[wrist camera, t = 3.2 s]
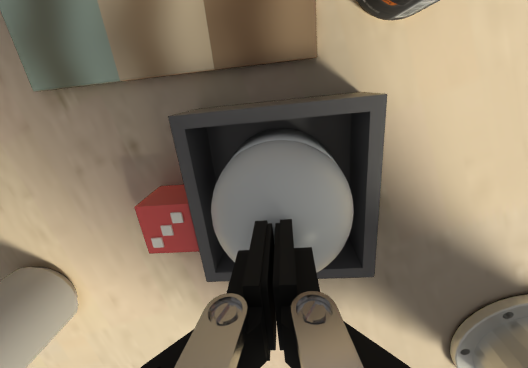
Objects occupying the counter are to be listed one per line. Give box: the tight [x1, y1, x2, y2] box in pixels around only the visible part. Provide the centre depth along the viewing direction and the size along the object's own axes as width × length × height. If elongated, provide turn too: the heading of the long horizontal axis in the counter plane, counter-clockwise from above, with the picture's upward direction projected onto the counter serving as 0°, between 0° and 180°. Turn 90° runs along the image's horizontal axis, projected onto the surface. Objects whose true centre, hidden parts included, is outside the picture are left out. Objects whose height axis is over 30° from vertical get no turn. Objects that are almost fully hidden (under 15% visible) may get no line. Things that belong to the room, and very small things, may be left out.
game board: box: [0, 0, 317, 91], centre depth 16 cm, size 21×9×1 cm, turn 96°
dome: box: [211, 129, 354, 273], centre depth 15 cm, size 8×8×8 cm
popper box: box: [134, 92, 387, 282], centre depth 18 cm, size 16×12×5 cm
